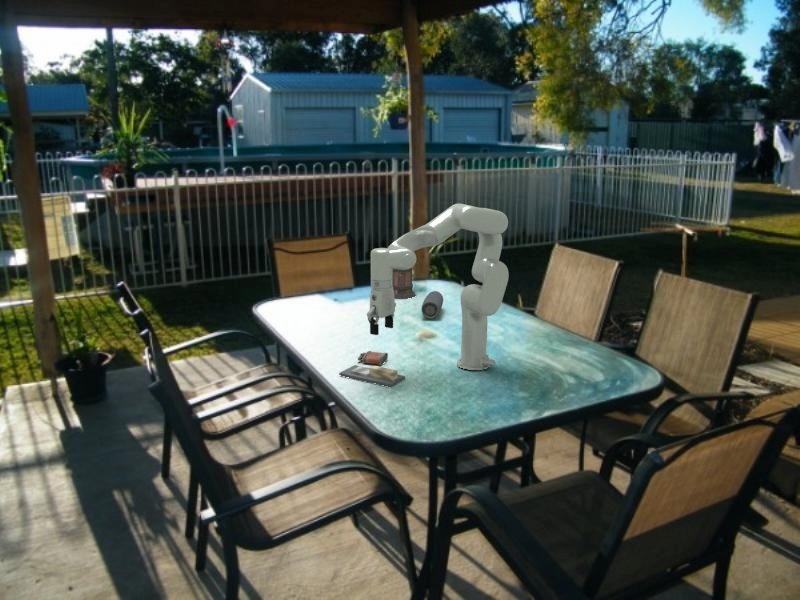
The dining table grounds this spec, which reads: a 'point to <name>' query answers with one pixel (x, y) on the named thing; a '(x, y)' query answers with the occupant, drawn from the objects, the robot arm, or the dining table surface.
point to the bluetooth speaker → (432, 304)
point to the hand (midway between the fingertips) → (381, 331)
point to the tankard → (402, 283)
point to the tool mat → (371, 378)
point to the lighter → (373, 357)
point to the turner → (376, 372)
